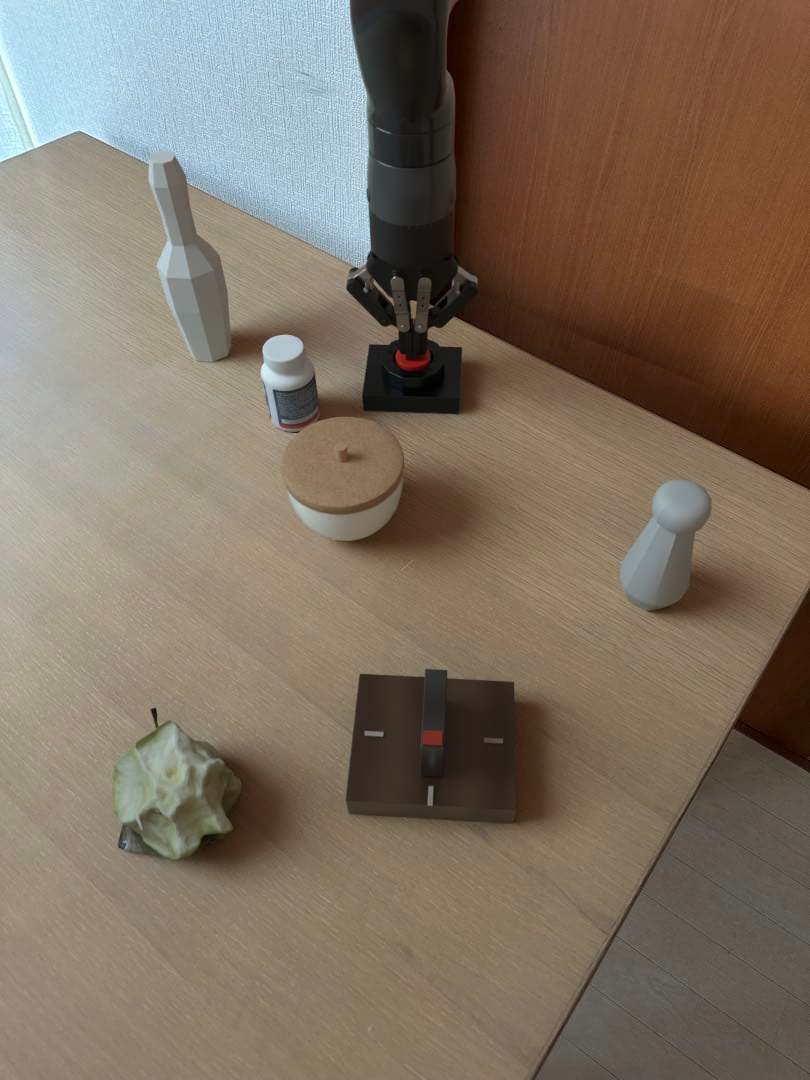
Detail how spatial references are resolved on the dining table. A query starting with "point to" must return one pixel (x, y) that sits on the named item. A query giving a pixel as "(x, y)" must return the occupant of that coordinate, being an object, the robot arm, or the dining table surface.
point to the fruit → (172, 794)
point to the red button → (413, 361)
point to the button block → (412, 381)
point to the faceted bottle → (189, 266)
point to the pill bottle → (289, 384)
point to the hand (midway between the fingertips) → (413, 354)
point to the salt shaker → (665, 546)
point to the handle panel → (469, 751)
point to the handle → (433, 723)
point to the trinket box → (344, 477)
